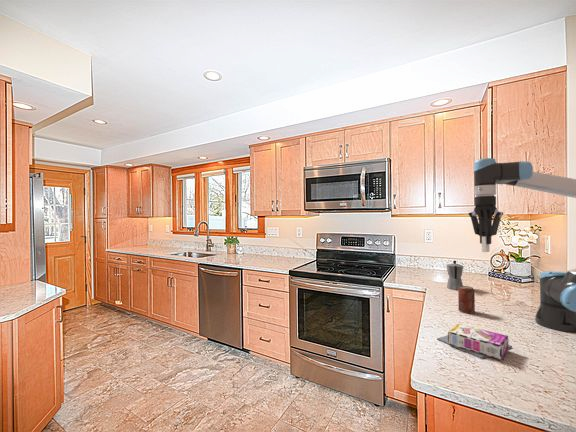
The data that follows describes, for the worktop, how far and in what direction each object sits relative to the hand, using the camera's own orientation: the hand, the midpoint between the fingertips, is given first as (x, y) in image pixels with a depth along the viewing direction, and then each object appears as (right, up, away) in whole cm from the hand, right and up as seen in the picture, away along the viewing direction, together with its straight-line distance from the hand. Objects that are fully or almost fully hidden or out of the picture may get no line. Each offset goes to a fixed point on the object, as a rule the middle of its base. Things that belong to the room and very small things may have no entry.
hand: (485, 251), depth 122 cm
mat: (-14, -33, -14) cm, 38 cm away
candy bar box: (-9, -30, -24) cm, 39 cm away
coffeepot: (+24, -32, +63) cm, 75 cm away
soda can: (+5, -32, +21) cm, 39 cm away
